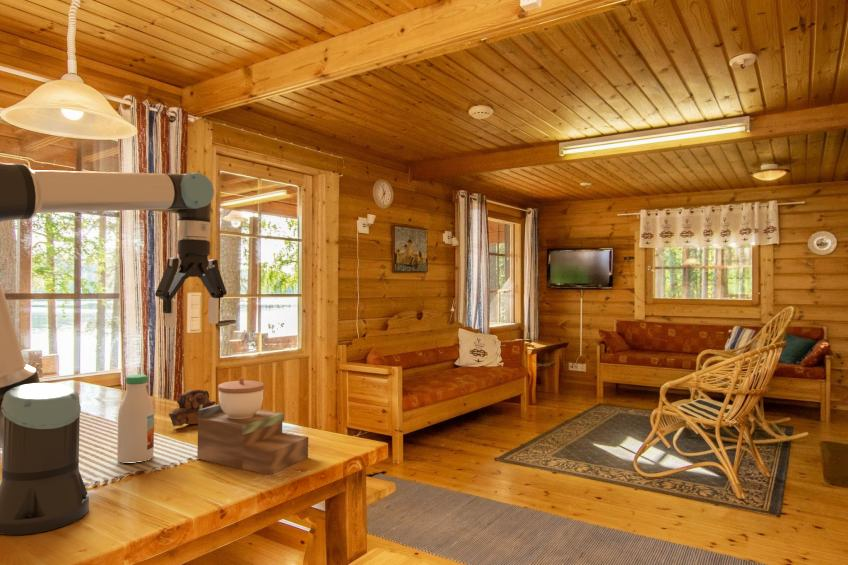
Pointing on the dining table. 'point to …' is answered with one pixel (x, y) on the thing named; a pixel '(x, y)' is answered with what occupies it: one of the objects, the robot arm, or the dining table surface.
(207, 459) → the stepped stand
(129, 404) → the milk bottle
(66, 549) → the dining table surface
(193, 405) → the wooden carving
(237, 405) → the lidded jar
